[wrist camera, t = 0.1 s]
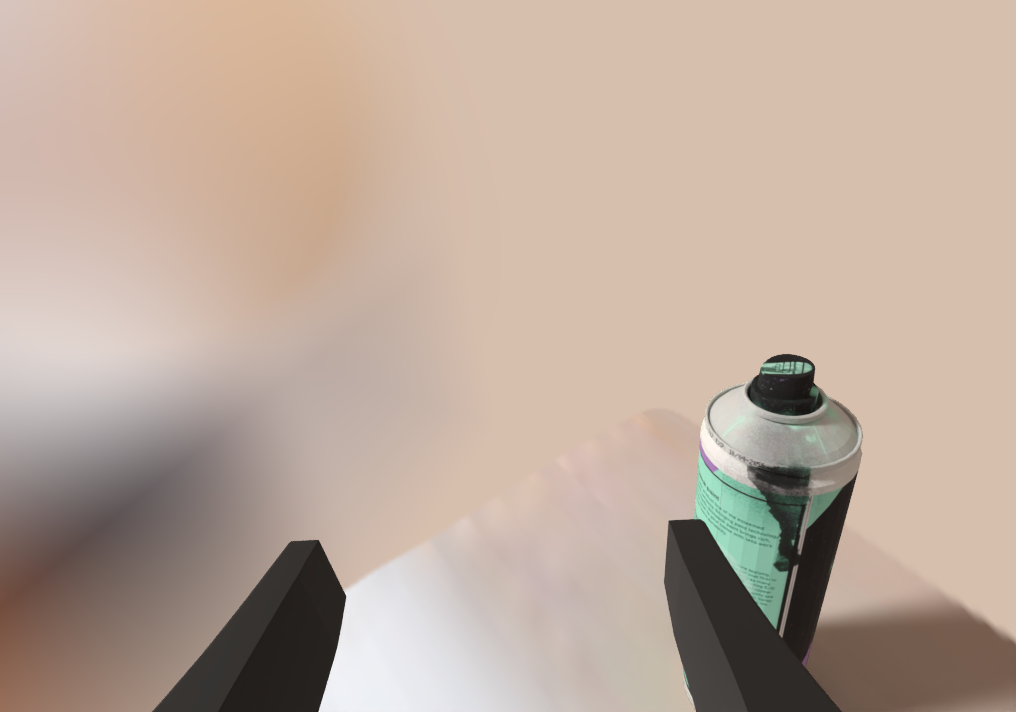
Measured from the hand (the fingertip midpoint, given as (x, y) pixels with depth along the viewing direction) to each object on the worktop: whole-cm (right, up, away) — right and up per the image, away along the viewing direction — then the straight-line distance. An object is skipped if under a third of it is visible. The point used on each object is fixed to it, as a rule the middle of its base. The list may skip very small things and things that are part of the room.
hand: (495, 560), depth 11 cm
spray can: (+12, -13, +18) cm, 26 cm away
